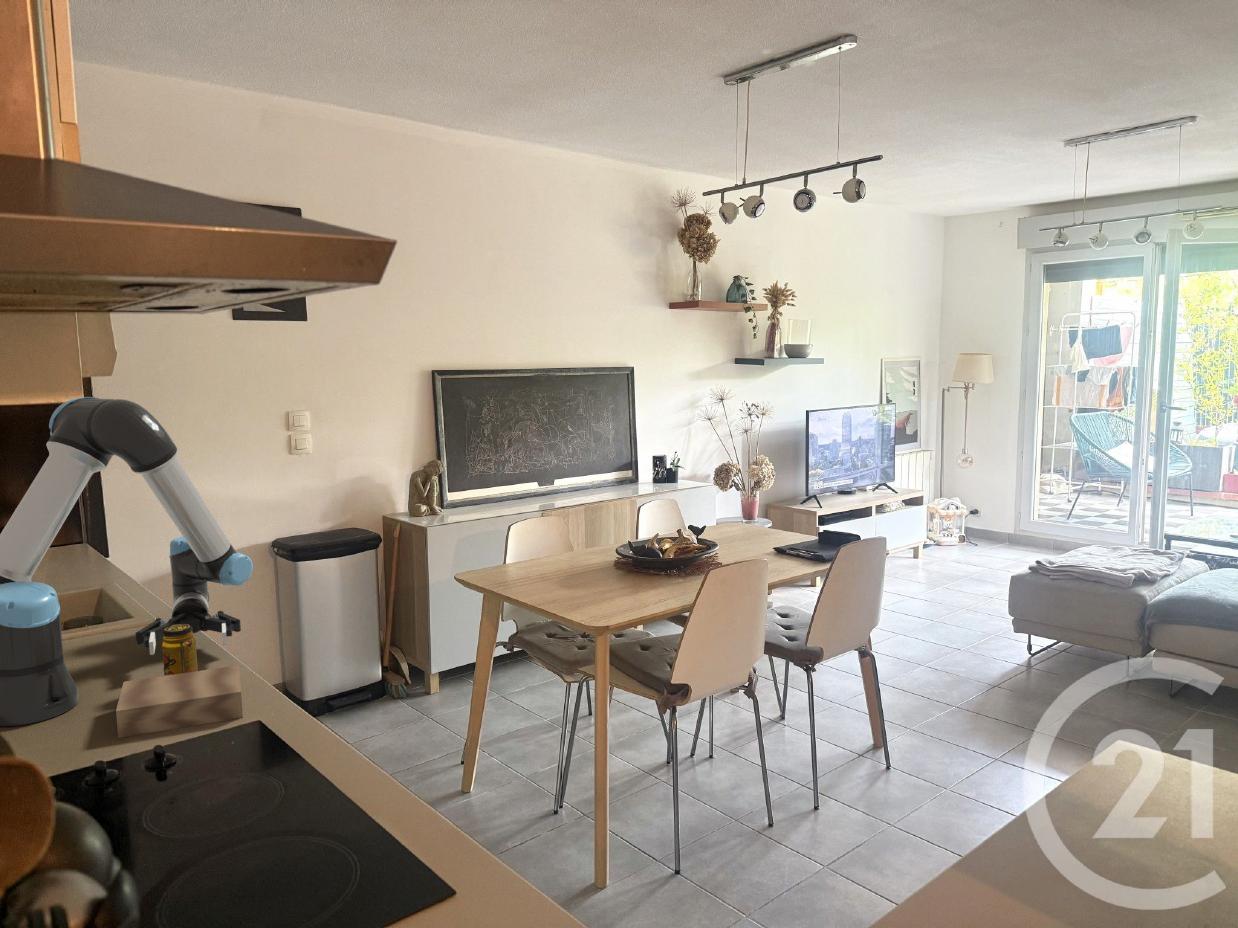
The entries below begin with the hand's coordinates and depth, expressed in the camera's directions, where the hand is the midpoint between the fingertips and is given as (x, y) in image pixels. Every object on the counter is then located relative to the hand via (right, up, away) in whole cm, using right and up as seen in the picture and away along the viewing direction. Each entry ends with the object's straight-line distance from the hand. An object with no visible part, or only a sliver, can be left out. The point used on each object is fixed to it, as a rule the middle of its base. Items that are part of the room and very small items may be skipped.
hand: (188, 643), depth 180 cm
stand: (+8, -9, -18) cm, 21 cm away
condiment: (+2, -7, -4) cm, 9 cm away
